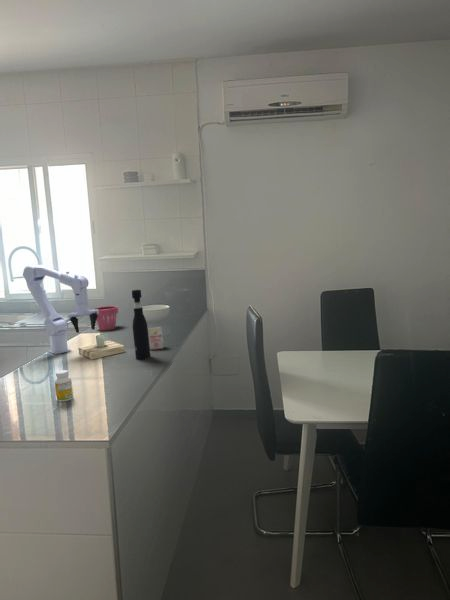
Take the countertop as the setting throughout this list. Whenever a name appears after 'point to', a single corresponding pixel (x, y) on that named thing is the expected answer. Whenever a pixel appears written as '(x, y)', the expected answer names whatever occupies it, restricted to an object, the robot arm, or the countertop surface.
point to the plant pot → (107, 317)
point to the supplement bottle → (63, 386)
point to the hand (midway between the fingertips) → (85, 330)
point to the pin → (100, 341)
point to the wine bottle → (140, 329)
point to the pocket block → (101, 350)
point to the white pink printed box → (155, 338)
